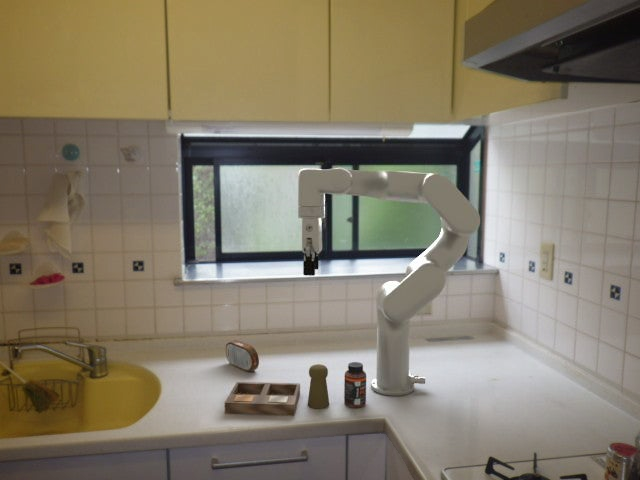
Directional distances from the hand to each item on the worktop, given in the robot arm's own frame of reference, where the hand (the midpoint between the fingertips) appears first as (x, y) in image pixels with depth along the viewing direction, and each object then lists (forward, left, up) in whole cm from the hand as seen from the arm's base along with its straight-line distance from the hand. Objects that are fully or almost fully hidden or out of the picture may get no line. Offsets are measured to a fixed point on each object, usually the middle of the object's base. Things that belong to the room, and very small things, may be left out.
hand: (311, 272), depth 149 cm
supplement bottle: (-13, +10, -35) cm, 39 cm away
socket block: (+12, +11, -35) cm, 38 cm away
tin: (+24, -15, -35) cm, 45 cm away
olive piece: (-3, +11, -35) cm, 37 cm away
